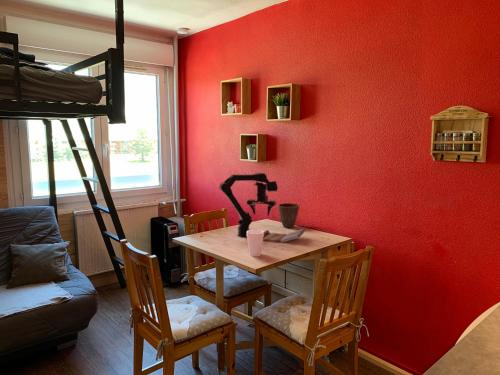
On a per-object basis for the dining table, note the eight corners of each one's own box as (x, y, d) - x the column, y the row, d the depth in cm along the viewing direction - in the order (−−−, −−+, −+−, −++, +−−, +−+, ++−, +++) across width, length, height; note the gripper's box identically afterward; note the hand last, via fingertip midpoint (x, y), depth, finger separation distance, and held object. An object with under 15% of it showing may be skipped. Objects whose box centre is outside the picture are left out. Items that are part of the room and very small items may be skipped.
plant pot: (298, 229, 263) (298, 207, 261) (276, 228, 266) (276, 206, 264) (299, 225, 277) (299, 203, 275) (279, 224, 280) (279, 203, 278)
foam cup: (254, 251, 214) (254, 228, 213) (267, 254, 209) (267, 231, 207) (243, 255, 207) (243, 232, 205) (256, 258, 201) (256, 234, 200)
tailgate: (280, 240, 231) (298, 234, 226) (286, 233, 246) (304, 228, 241) (281, 242, 231) (299, 237, 226) (287, 236, 246) (305, 231, 241)
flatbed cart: (259, 240, 235) (259, 236, 235) (266, 234, 250) (266, 230, 250) (279, 242, 231) (279, 238, 231) (286, 236, 246) (286, 231, 245)
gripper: (278, 190, 251) (278, 213, 253) (252, 189, 258) (252, 212, 260) (273, 193, 241) (273, 217, 243) (246, 192, 247) (246, 215, 249)
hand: (261, 215), depth 249 cm, fingers open, 9 cm apart
